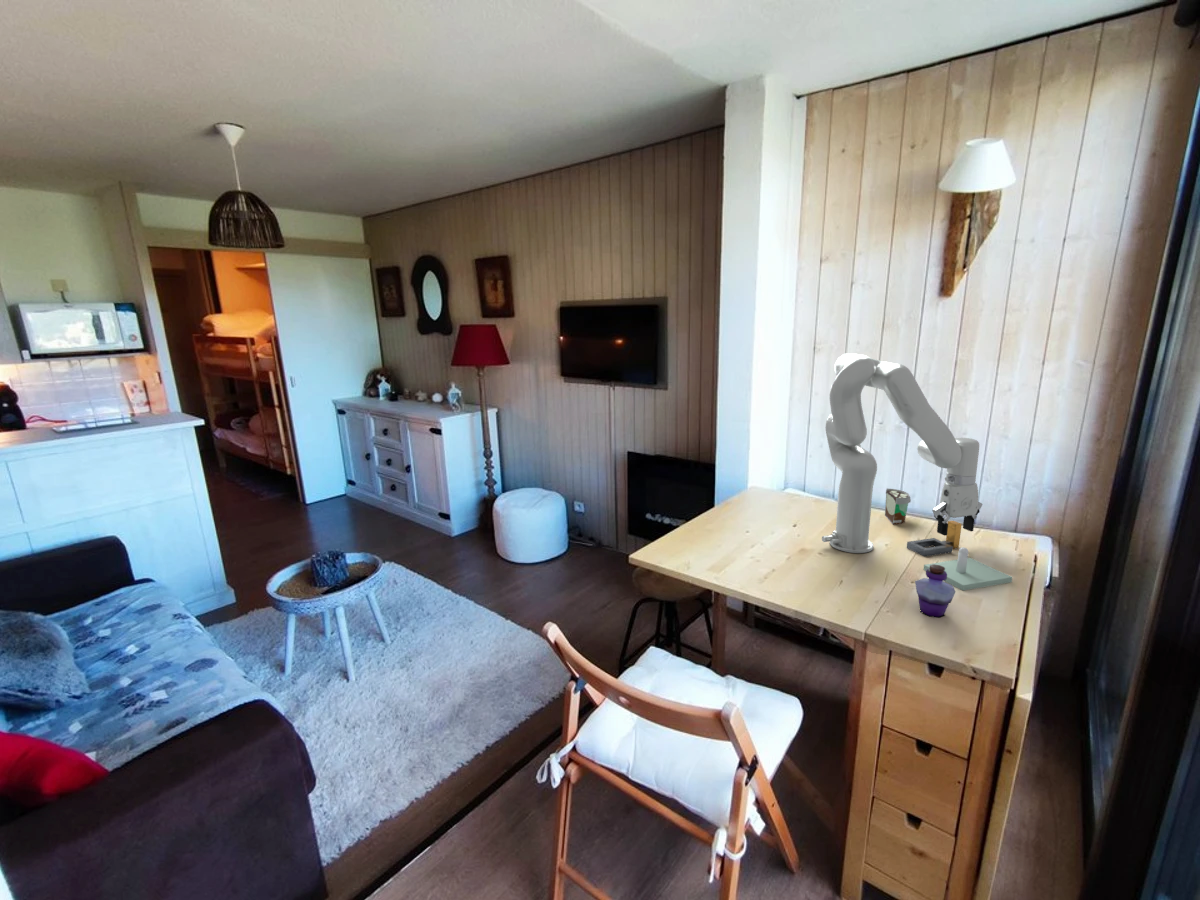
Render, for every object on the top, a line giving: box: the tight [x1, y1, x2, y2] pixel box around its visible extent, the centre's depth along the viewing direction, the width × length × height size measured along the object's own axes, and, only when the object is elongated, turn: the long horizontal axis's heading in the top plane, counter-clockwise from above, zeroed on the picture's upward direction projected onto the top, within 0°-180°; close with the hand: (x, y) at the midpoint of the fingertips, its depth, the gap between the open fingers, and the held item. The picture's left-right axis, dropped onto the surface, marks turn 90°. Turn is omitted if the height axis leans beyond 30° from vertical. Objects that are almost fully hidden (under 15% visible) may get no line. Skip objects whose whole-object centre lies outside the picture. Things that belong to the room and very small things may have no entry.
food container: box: [884, 488, 912, 526], centre depth 193 cm, size 12×6×10 cm, turn 168°
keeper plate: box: [923, 547, 1013, 591], centre depth 151 cm, size 16×13×9 cm
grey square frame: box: [906, 520, 963, 558], centre depth 168 cm, size 14×7×8 cm, turn 104°
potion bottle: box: [914, 564, 956, 619], centre depth 133 cm, size 9×9×12 cm
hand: (955, 531), depth 169 cm, fingers open, 9 cm apart
